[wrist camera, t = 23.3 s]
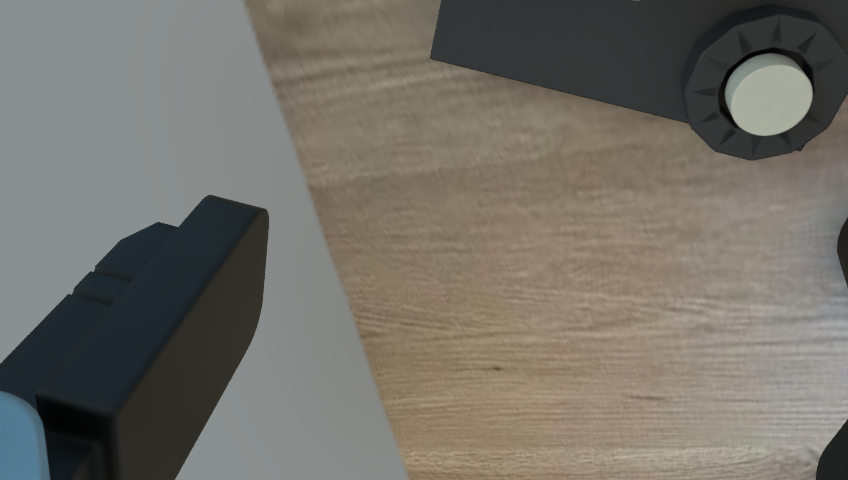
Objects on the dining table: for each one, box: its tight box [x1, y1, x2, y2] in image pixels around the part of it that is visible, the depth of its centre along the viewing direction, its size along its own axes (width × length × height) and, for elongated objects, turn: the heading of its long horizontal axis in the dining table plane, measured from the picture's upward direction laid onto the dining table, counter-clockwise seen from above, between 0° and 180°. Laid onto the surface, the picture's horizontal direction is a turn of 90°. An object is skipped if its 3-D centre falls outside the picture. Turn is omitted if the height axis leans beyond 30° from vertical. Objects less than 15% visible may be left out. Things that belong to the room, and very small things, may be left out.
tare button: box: [725, 53, 813, 136], centre depth 27 cm, size 3×3×1 cm
